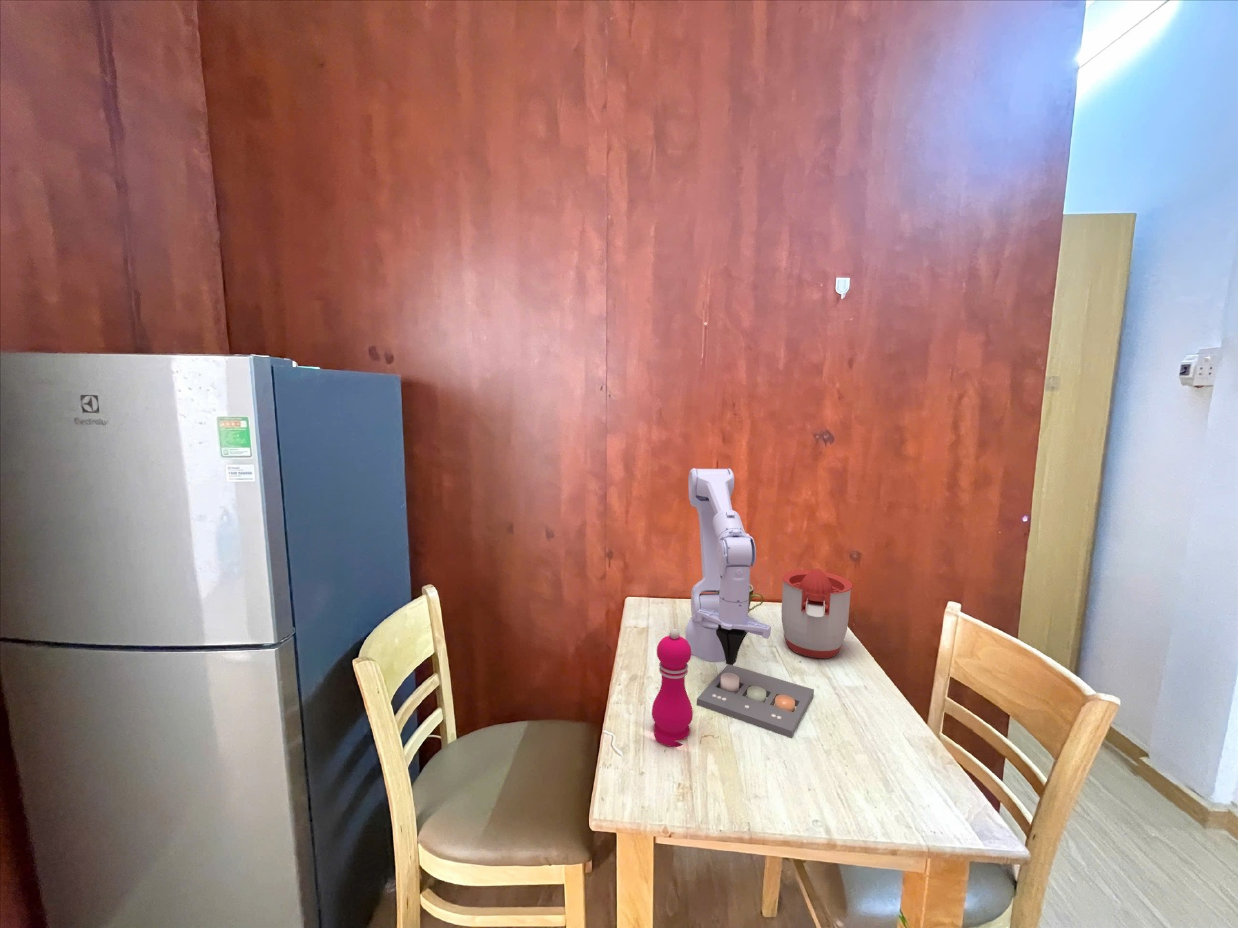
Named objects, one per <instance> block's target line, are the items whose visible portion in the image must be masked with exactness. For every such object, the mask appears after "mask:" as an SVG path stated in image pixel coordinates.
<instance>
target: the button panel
mask: <svg viewBox="0 0 1238 928" xmlns="http://www.w3.org/2000/svg"><path fill="white" fill-rule="evenodd" d="M723 673H733V674H736V675H737V676H738V677H739V691H738V692H737V694H735V693H732V692H729V691H726V690H723V689H720V687H721V675H722V674H723ZM751 686H758V687H761V688H763V689H765V691H766V701H765V702H764V703H763V702H760V701H757V700H754V699H751V698H748V697H747V689H748V688H749V687H751ZM778 695H787V696H790V697H792V698H793V699H794V700H795V710H794V712H791V711H788V710H785V709H782V708H778V707H775V697H776V696H778ZM814 697H815V689H814V688H811V687H807V686H804V685H800V684H797V683H795V682H794V683H793V682H791V681H788V680H787V681H786V680H784V679H781V678H776V677H774V676H771V675H766V674H763V673H761V672H757V671H754V670H750V669H746V668H743V667H740V666H737V665H734V664H733V665H730V664H726V665H725V667H723V669H722V670H721V671H720V672H719V673H718V674H717V675H716V676H715V678H714V679H713V680H712V681H711V682H710V683H709V684H708V685H707V686H706V688H705V689H704V690H703V691H702V692H701V693H700V694H699V695H698V697H697V698H696V706H699V707H701V708H704V709H707V710H710V711H713V712H715V713H719V714H721V715H723V716H726V717H730V718H733V719H734V720H735V719H736V720H738V721H742V722H744V723H747V724H750V725H753V726H755V727H758V728H761V729H764V730H767V731H770V732H773V733H775V734H778V735H781V736H784V737H787V738H789V739H793V737H794V734H795V732H796V731H797V729H798V727H799V726H800V723H801V721H802V719H803V717H804V715H805V713H806V711H807V709H808V708H809V705H810V704H811V702H812V700H813V698H814Z"/></svg>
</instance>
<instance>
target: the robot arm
mask: <svg viewBox="0 0 1238 928" xmlns="http://www.w3.org/2000/svg"><path fill="white" fill-rule="evenodd" d="M687 486H688V500H689V502H690V503H689V504H690V506H692V507H694V508H696V510H697V515H698V524H699V525H698V526H699V540H700V555H701V557H700V558H701V573H702V574H701V575H702V579H701V580H699V581H698V582H696V584H695V585H693V587H692V588H691V592H690V593H691V594H690V595H691V598H690V612H691V614H690V615H691V617H690V618H689V620H688V622H687V625H686V627H685V637H684V639H686V640H687V641H688V643H689V645H690V647H691V657H692V656H693V657H696V658H698V659H700V660H703V661H705V662H709V663H722V662H724V661H725V663H726V665H727V664H730V665H733V666H734V665H735V663H736V662H737V658H738V654H739V651H740V648H741V646H742V644H743V641H744V640H745V638H746V636H747V634H748V633H749V634H753V635H756V636H757V635H758V636H761V637H762V638H763V639H769V638H770V636H771V635H772V634H771V633H772V632H771V629H772V625H769V624H766V623H763V622H761V621H758V620H756V619H754V618H751V617H750V616H749V613H748V608H749V609H750V607H749V588H750V584H751V567H753V568H754V566H755V564H756V560H757V559H756V558H757V549H756V544H755V540H754V537H752V535H751V536H750V534H749V533H746V531H745V529H744V528H745V527H744V525H743V522H742V519H741V516H740V514H739V513H738V512H737V511H736V510H733V506H732V501H731V497H732V495H733V492H734V489H735V474H734V472H733V470H732V469H731V468H695V467H693V468H691V469H690V470H689V474H688V485H687ZM716 592H719V594H716Z"/></svg>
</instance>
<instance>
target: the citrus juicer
mask: <svg viewBox="0 0 1238 928" xmlns="http://www.w3.org/2000/svg"><path fill="white" fill-rule="evenodd" d="M781 578H782V579H781V580H782V596H781V625H782V626H781V627H782V630H783V635H784V640H785V642H786V644H787V646H788V647H789V649H790V650H792V651H793V652H794V653H796V654H799V655H802V656H805V657H809V658H814V659H815V658H816V659H831V658H833V657H835V656H836V655H837V654H838V653H839V652H840V649H841V648H842V646H843V642H844V641H845V638H846V635H847V631H848V627H849V625H848V624H849V618H850V617H849V616H850V607H851V606H850V603H851V593H852V592H851V591H852V589H853V584H852V582H851V581H849V580H848V579H847V578H846V577H843V576H841V575H839V574H838V575H837V574H834V573H832V572H827V571H822V570H821V569H820V568H819V567H815V568H813V569H795V570H791V571H787V572H785V573H783V575H782V577H781Z"/></svg>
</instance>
